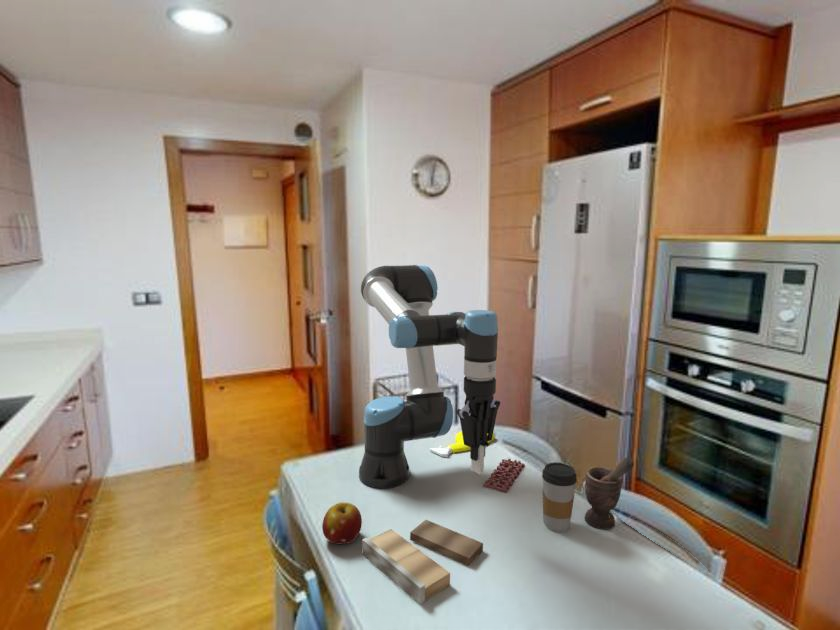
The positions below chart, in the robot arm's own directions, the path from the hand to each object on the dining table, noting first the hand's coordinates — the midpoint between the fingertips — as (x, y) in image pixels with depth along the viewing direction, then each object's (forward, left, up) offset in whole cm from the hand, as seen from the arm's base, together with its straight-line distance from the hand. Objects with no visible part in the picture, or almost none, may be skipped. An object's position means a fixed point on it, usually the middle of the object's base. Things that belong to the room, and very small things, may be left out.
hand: (477, 471), depth 118 cm
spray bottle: (-36, +33, -16) cm, 52 cm away
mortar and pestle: (+20, +27, -16) cm, 37 cm away
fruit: (-18, -27, -16) cm, 36 cm away
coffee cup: (+12, +17, -16) cm, 26 cm away
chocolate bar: (-13, +27, -16) cm, 34 cm away
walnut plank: (0, -10, -16) cm, 19 cm away
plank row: (0, -22, -16) cm, 27 cm away
